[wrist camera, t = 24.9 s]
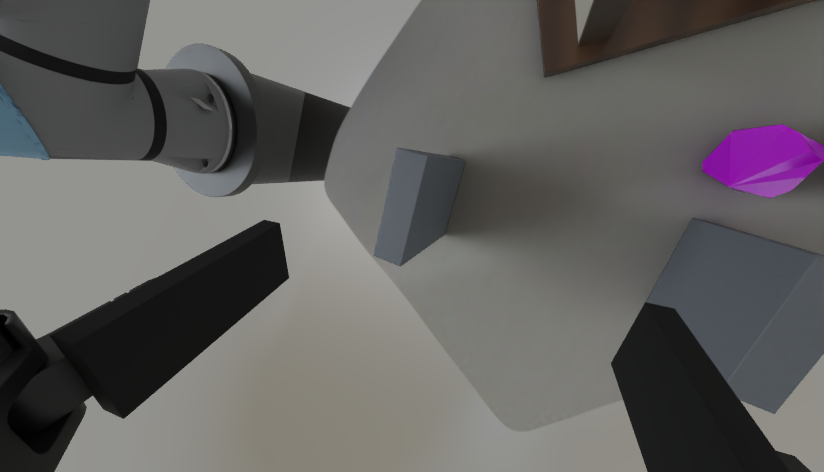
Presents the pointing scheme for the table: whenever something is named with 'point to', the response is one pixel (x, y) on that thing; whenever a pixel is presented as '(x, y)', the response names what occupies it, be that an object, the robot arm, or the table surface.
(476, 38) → the table surface
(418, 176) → the grey book
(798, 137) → the crystal
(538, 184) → the table surface
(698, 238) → the grey book
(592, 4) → the white book
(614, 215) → the table surface
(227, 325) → the robot arm
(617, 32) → the shelf board
